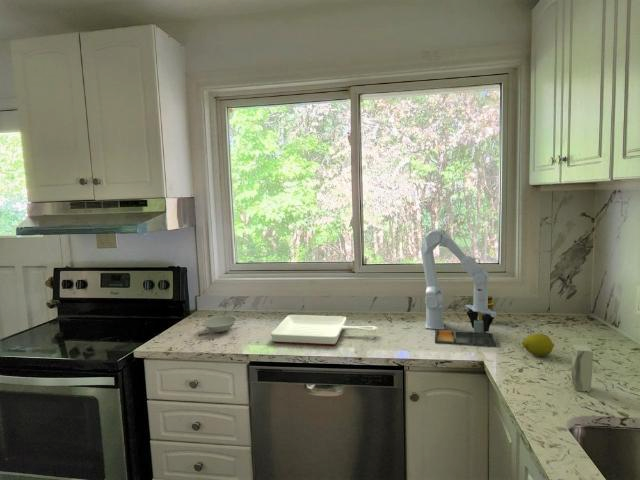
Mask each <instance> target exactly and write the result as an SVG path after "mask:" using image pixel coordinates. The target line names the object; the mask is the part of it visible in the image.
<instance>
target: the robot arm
mask: <svg viewBox="0 0 640 480" xmlns="http://www.w3.org/2000/svg"><path fill="white" fill-rule="evenodd" d="M438 245H439V246H440V247H443V248H447V249H448V251H449V252H451V253H452V255H454V256H455V257H456V258H457V259H458V260H459V261H460V267H461V268H462V269H463V270H464V271H465V273H467V274H468V275H469V276H470V277H471V279H472V282H473V303H472V304H465V310H467V311H466V315H467V316H468V318H469V320H470V324H471V328H472V329H474V320H478V319H479V313H482V314H485V315H484V316H482V319H483V324H484V332H487V333H489V330H490V327H491V325H492V324H491V322H492V320H493V321H494V319H495V318H496V317H497V311H494V310H493V311H492V310H490V309H488V296H489V287H488V286H489V280H490V274H489V272H488V270H487V269H484V267H483V266H481V265H480V264H479V263H478V262H477V261H476V258H475V257H472V255H471V256H470V255H467V254H465V252H464V251H462V249H461V248H460V246H459V245H458V244H457V243H456V242H455V241H454V240H453V238H452V237H451V236H450V235H449V234H448V233H446V231H445V230H444V229H443V228H436V229H432V230H430V231H428V233H426V234H425V236H424V239H423V242H422V244H421V246H420V252H421V259H422V260H421V261H422V265H423V272H424V277H425V284H426V289H425V298H424V303H425V307H426V309H425V310H426V311H425V312H426V313H425V314H426V316H425V318H426V319H425V320H426V321H425V324H424V325H425V326H424V328H425V329H431V330H445V327H444V326H445V325H444V317H443V316H444V315H443V314H444V306H443V304H442V303H443V302H444V300H445V296H444V293H443V292H442V289H441V287H440V286H439V279H438V275H437V274H438V273H437V268H436V262H435V256H434V250H435V249H436V248H437V247H438Z"/></svg>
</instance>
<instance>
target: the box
mask: <svg viewBox="0 0 640 480" xmlns="http://www.w3.org/2000/svg"><path fill="white" fill-rule="evenodd" d="M590 347H591V346H589V345H584V344H572V358H571V374H570V375H571V376H570V384H571V386H572V388H573V390H574V391H578V392H585V391H587V392H586V393H588V392H589V393H591V392H592V379H593V378H592V376H593V362H594V360H593V359H594V350H592V348H590Z"/></svg>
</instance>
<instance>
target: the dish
mask: <svg viewBox="0 0 640 480" xmlns="http://www.w3.org/2000/svg"><path fill="white" fill-rule="evenodd" d="M237 321H238V317H237V316H234V315H220V316H219V315H218V316H215V317H211V318H209V319H208V318H207V319H206V320H204V321H203V322H202V325H203V327H205V328H206V329H207V330H209V331H211V332H214V333H215V332H216V333H222V332H225V331H227V330H229V329H230V328H232V327H233V326H234V324H235V323H236V322H237Z"/></svg>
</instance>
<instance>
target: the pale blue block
mask: <svg viewBox="0 0 640 480" xmlns="http://www.w3.org/2000/svg"><path fill="white" fill-rule="evenodd" d="M473 332H483V333H488V332H484V324H483V320H479V319H477V320H474V328H473Z"/></svg>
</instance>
